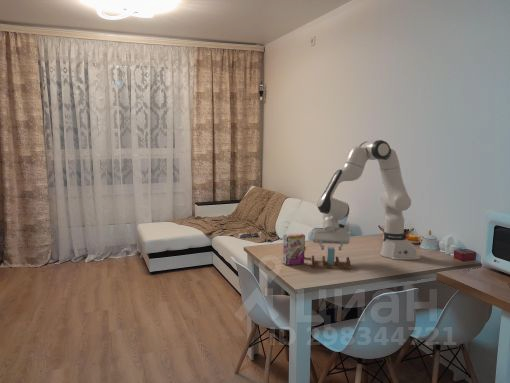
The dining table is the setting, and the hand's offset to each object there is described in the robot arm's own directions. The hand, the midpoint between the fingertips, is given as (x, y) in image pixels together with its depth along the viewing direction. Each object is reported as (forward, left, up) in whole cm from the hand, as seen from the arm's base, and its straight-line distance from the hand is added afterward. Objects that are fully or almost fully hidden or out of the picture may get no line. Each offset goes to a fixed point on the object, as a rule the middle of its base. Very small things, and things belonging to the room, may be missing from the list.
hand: (331, 249), depth 226 cm
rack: (0, +3, -8) cm, 9 cm away
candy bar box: (+20, +2, -9) cm, 22 cm away
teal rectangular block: (0, +3, -7) cm, 8 cm away
